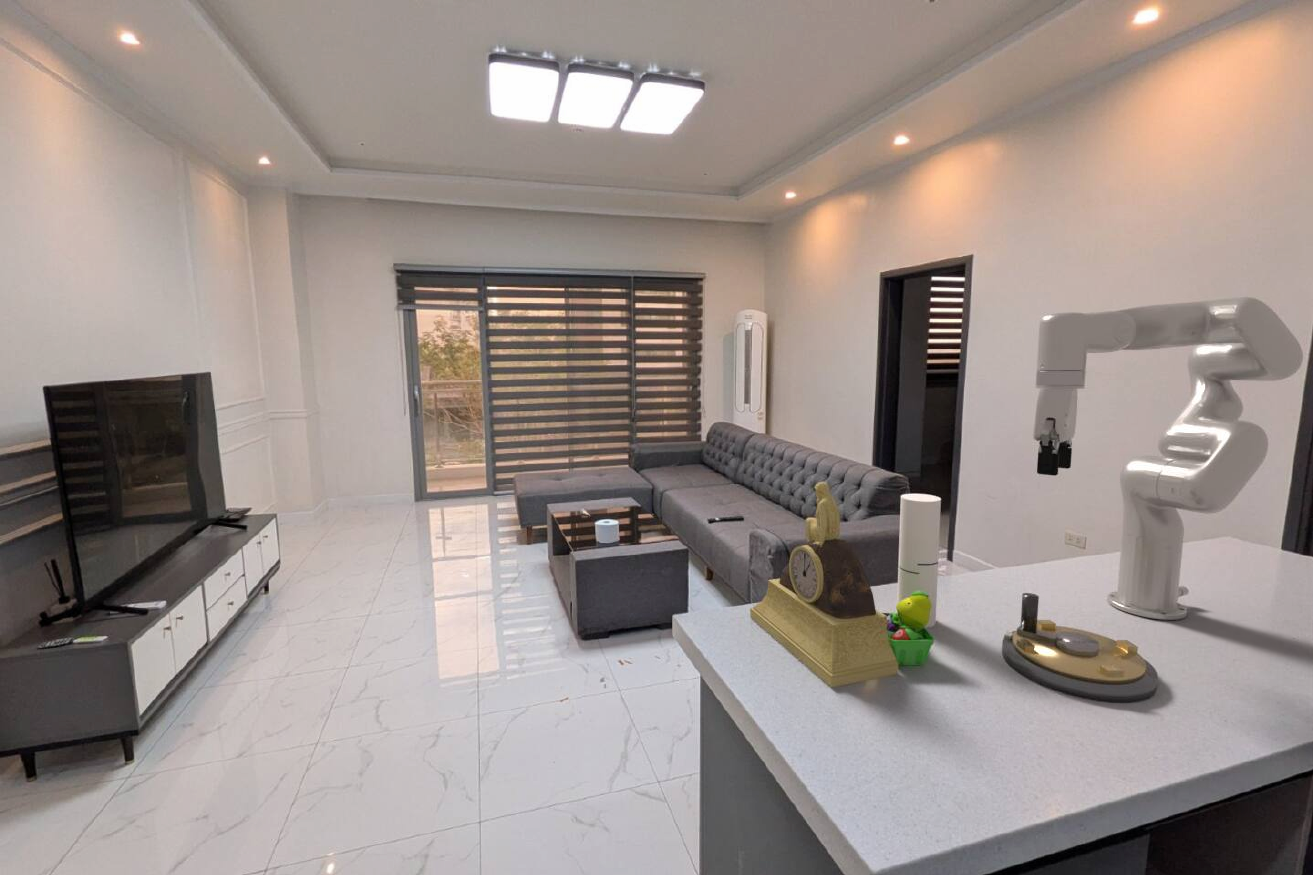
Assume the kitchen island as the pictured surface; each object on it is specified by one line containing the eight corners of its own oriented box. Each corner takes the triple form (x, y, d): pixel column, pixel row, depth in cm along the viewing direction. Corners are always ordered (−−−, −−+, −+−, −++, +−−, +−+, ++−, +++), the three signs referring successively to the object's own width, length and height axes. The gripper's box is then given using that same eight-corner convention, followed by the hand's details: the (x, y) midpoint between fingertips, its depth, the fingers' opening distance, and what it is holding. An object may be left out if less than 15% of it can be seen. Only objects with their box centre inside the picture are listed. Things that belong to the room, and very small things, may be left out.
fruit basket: (867, 638, 110) (868, 580, 108) (915, 638, 109) (917, 580, 108) (889, 669, 98) (891, 605, 97) (942, 669, 98) (945, 605, 97)
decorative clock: (750, 617, 120) (750, 473, 116) (805, 608, 124) (807, 468, 120) (831, 688, 93) (835, 503, 90) (897, 674, 97) (904, 496, 93)
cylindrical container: (939, 629, 113) (945, 502, 110) (900, 626, 114) (905, 501, 111) (930, 613, 120) (935, 494, 117) (893, 611, 121) (897, 493, 118)
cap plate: (1059, 631, 111) (1060, 618, 111) (1189, 687, 91) (1191, 671, 91) (973, 649, 104) (974, 635, 104) (1094, 714, 85) (1095, 697, 84)
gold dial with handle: (992, 630, 107) (994, 586, 106) (1093, 631, 106) (1097, 587, 105) (1053, 683, 89) (1057, 631, 88) (1176, 684, 88) (1181, 632, 87)
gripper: (1048, 379, 118) (1043, 463, 120) (1023, 381, 106) (1018, 474, 108) (1094, 379, 112) (1088, 467, 114) (1073, 382, 100) (1066, 480, 102)
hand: (1054, 471), depth 111 cm, fingers open, 9 cm apart
